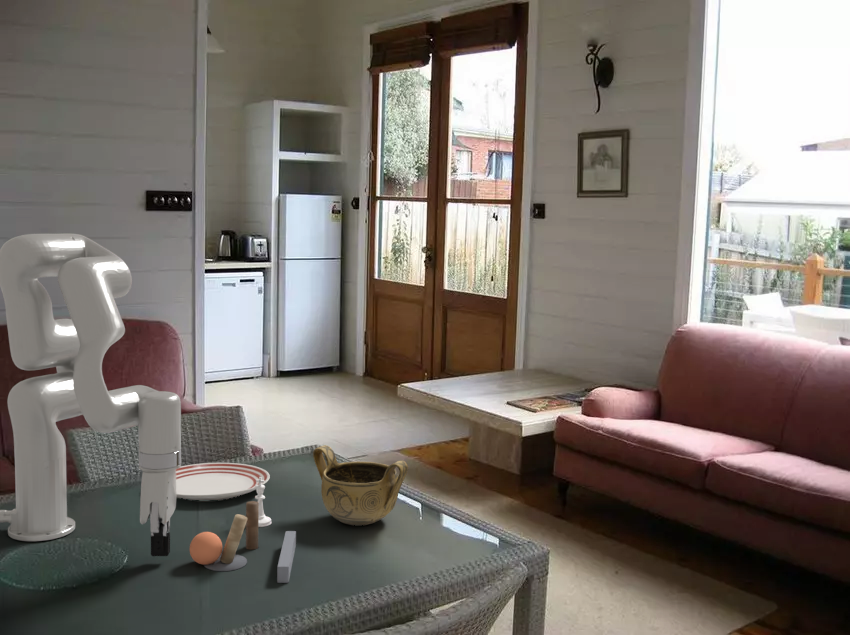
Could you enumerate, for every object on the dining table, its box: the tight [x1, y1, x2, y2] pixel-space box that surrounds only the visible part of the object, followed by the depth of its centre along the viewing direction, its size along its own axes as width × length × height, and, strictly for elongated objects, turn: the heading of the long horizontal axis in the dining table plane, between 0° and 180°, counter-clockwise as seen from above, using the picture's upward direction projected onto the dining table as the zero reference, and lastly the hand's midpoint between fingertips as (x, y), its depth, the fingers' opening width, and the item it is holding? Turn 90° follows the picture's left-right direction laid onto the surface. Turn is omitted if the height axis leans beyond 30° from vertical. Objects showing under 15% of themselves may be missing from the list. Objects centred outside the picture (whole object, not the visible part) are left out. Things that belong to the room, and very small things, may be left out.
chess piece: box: [254, 477, 272, 528], centre depth 196 cm, size 5×5×10 cm
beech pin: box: [220, 513, 248, 564], centre depth 174 cm, size 2×2×9 cm
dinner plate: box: [176, 462, 271, 501], centre depth 218 cm, size 28×27×3 cm
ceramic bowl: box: [312, 444, 409, 527], centre depth 199 cm, size 22×17×15 cm
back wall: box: [276, 530, 297, 584], centre depth 175 cm, size 2×18×3 cm, turn 4°
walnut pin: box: [245, 500, 259, 551], centre depth 182 cm, size 2×2×9 cm
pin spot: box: [203, 553, 248, 572], centre depth 174 cm, size 8×8×1 cm
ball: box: [189, 531, 223, 566], centre depth 173 cm, size 6×6×6 cm
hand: (160, 554), depth 173 cm, fingers closed
